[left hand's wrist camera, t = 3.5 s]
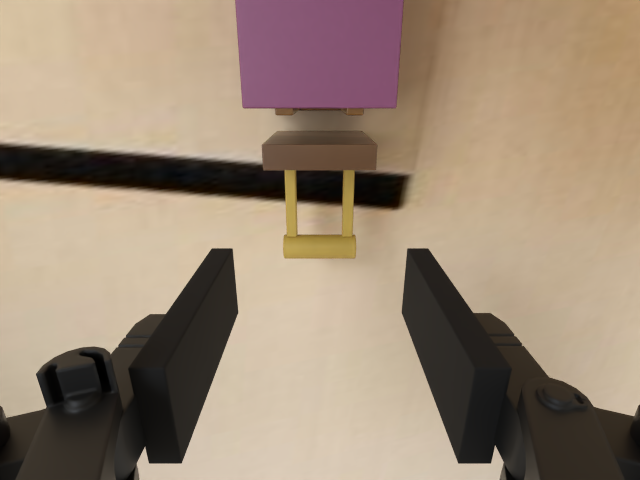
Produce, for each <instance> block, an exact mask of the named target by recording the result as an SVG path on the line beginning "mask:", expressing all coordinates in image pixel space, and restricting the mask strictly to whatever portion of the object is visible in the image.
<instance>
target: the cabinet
mask: <svg viewBox="0 0 640 480" xmlns="http://www.w3.org/2000/svg"><path fill="white" fill-rule="evenodd" d="M403 3H404V0H235V4H236V18H237V33H238V47H239V62H240V76H241V90H242V105H243V108H396V105H397V91H398V76H399V61H400V47H401V32H402V18H403Z"/></svg>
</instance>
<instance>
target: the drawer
mask: <svg viewBox="0 0 640 480" xmlns="http://www.w3.org/2000/svg"><path fill="white" fill-rule="evenodd" d="M298 110H341V111H343V112H344V113H345V114H346V115H363V113H364V108H275V113H276V115H293V114H294V113H296V112H297V111H298ZM262 157H263V170H285V193H286V223H287V235H284V240H283V253H284V258H355V256H356V237H355V235H352V233H353V202H354V171H355V170H376V160H377V144H376V143H375V142H374V141H372V140H371V139H370V138H369V137H368V136H367V135H366V134H365V133H363V132H362V131H277V132H276V133H275V134H274V135H273V136H271V137H270V138H269V139H268V140H267V141H266V142H265V143H263V144H262ZM296 170H343V207H342V235H297V193H296Z"/></svg>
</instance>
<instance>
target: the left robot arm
mask: <svg viewBox="0 0 640 480" xmlns="http://www.w3.org/2000/svg"><path fill="white" fill-rule="evenodd" d="M237 314H238V305H237V293H236V282H235V271H234V260H233V249H211V251H210V252H209V254H208V255H207V256H206V258H205V259H204V261H203V262H202V264H201V265H200V266H199V268H198V269H197V271H196V272H195V273H194V275H193V276H192V278H191V279H190V281H189V282H188V283H187V285H186V286H185V288H184V289H183V291H182V292H181V293H180V295H179V296H178V298H177V299H176V301H175V302H174V303H173V305H172V306H171V308H170V309H169V311H168V312H167V313H166V314H150V315H148V316H147V317H145V318H144V319H142V320H141V321H139V322H138V323H136V324H135V325H134V326H133V328H132V329H131V330H130V331H129V333H128V334H127V335H126V338H124V339H123V340H122V341H121V343H120V344H119V347H118V348H116V349H115V350H114V351H113V353H112V354H111V355H110V353H109V352H108V351H107V350H106V349H104V348H99V347H83V348H79V349H75V350H71V351H68V352H65V353H63V354H61V355H59V356H57V357H54V358H53V359H52V360H50V361H49V362H47V363H46V364H45V365H43V366H42V367H41V369H40V370H39V371H38V372H37V374H36V376H37V379H38V382H39V385H40V388H41V391H42V394H43V397H44V400H45V403H46V406H47V407H46V409H43V410H40V411H35V412H31V413H26V414H22V415H18V416H13V417H9V418H6V416H5V414H4V411H3V408H2V407H1V406H0V480H139V473H138V468H137V464H136V463H137V461H138V459H139V457H140V455H141V453H142V451H143V449H144V447H146V452H147V456H148V461H149V463H182V461H183V458H184V456H185V453H186V450H187V448H188V445H189V442H190V440H191V437H192V434H193V432H194V429H195V426H196V424H197V421H198V418H199V416H200V413H201V410H202V408H203V405H204V402H205V400H206V397H207V394H208V392H209V389H210V386H211V384H212V381H213V378H214V376H215V373H216V370H217V368H218V365H219V362H220V360H221V357H222V354H223V352H224V349H225V346H226V344H227V341H228V338H229V336H230V333H231V330H232V328H233V325H234V322H235V320H236V317H237ZM402 314H403V317H404V320H405V322H406V325H407V328H408V330H409V333H410V336H411V338H412V341H413V344H414V346H415V349H416V352H417V354H418V357H419V360H420V362H421V365H422V368H423V370H424V373H425V376H426V378H427V381H428V384H429V386H430V389H431V392H432V394H433V397H434V400H435V402H436V405H437V408H438V410H439V413H440V416H441V418H442V421H443V424H444V426H445V429H446V432H447V434H448V437H449V440H450V442H451V445H452V448H453V450H454V453H455V456H456V458H457V461H458V463H491V461H492V456H493V452H494V447H495V445H496V447H497V449H498V451H499V453H500V455H501V457H502V459H503V461H504V464H503V468H502V472H501V476H500V480H640V405H639V406H638V408H637V411H636V414H635V416H630V415H625V414H621V413H617V412H612V411H608V410H603V409H599V408H596V407H593V405H592V404H591V402H590V401H589V399H588V398H587V397H586V396H585V395H584V394H582V393H581V392H580V391H579V390H577V389H576V388H574V387H572V386H570V385H569V384H567V383H565V382H562V381H559V380H556V379H552V378H549V377H548V376H547V374H546V373H545V372H544V371H543V369H542V368H541V367H540V366H539V364H538V363H537V362H536V361H535V359H534V358H533V357H532V356H531V355H530V353H529V352H528V351H527V350H526V348H525V347H524V346H522V343H521V342H520V341H519V340H518V338H517V337H514V334H513V332H512V331H511V330H510V329H509V327H508V326H507V325H506V324H505V323H504V322H503V321H501V320H500V319H498V318H497V317H495V316H494V315H492V314H491V313H473V312H472V311H471V309H470V308H469V306H468V305H467V303H466V302H465V301H464V299H463V298H462V296H461V295H460V293H459V292H458V291H457V289H456V288H455V286H454V285H453V283H452V282H451V281H450V279H449V278H448V276H447V275H446V274H445V272H444V271H443V269H442V268H441V266H440V265H439V264H438V262H437V261H436V259H435V258H434V256H433V255H432V254H431V252H430V251H429V249H407V260H406V271H405V282H404V293H403V305H402Z"/></svg>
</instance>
